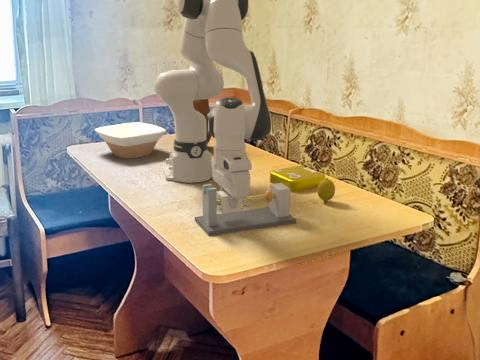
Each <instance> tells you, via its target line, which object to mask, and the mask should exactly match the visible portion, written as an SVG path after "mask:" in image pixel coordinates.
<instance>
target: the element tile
mask: <svg viewBox="0 0 480 360" xmlns="http://www.w3.org/2000/svg"><path fill="white" fill-rule="evenodd" d="M269 174H270V175H269V182H270V184H276V183H282V184H284V185H285V186H287V187H288V188H290V193H291V192H292V193H298V192H303V191H308V190H312V189H313V188H314V189H318V185H319V183H320V182H321V181H322V180H323V179H326V174H324V173H322V172H320V171H316V170H314V169H312V168H309V167H306V166H304V165H296V166H290V167H285V168H283V167H282V168H278V169H273V170H270V172H269Z"/></svg>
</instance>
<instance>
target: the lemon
mask: <svg viewBox="0 0 480 360" xmlns="http://www.w3.org/2000/svg"><path fill="white" fill-rule="evenodd" d="M316 191H317V195H318V198H320V200H322V201H323V202H324V203H328V201H330V200H332V199H333V198H334V196H335V193H336V187H335V184H334V181H333V180H331V179H329V178H328V177H325V179H323V180H322V181H321V182H320V183H319V185H318V188H317V190H316Z"/></svg>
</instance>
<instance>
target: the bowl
mask: <svg viewBox="0 0 480 360" xmlns="http://www.w3.org/2000/svg"><path fill="white" fill-rule="evenodd" d="M94 131H95V132H96V134H98V135H99V137H100V138H102V139H103V140H104V142H105V143H106V145H107V147H108V148H109V150H110V151H111V153H112V154H113V155H114V154H115V155H114V156H116V155H117V156H116V157H118V156H119V158H122V159H126V160H128V159H129V158H130V159H136V158H140V157H146V156H149V154H150V155H151V153H152V152H153V150H154V148H155V146H156V144H157V143H158V142H159V140H160V139H161V138H163V136H164V134H166V133H167V130H166V129H165V128H163V127H161V126H157V125H155V124H151V123H150V124H149V123H145V122H139V121H136V122H135V121H134V122H126V123H125V122H124V123H120V124H112V125H105V126H101V127H97V128H94ZM130 159H129V160H130Z"/></svg>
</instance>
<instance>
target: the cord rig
mask: <svg viewBox="0 0 480 360" xmlns="http://www.w3.org/2000/svg"><path fill="white" fill-rule="evenodd" d="M217 191H218V190H217V188H216V187H213V185H212V183H208V184H202V216H201V215H200V216H194V222H195V223H196V224H197V225H198V226H199V227H200V228H201V230H203V231H204V232H205V234H207V235H208V237H209V236H216V235H221V234H228V233H229V234H230V233H236V232H243V231H248V230H250V231H251V230H255V229H256V230H257V229H263V228H268V227H276V226H282V225H289V224H296V223H297V218H296V217H294V216H293V215H291V214H290V206H291V205H290V204H291V202H290V201H291V191H290V188H288V187H287V186H285V185H284V184H282V183H276V184H273V183H270V185H269V190H266V191H265V192H264V194H257V195H248V197H247V198H243V200H242V202H245V203H246V202H253V201H260V200H261V201H262V200H265V201H266V202H267V203H268V202H269V206H268V207H261V208H253V209H245V210H242V211H238V212H231V213H222V212H220V213H218V212H217V211H218V209H217V205H221V200H217Z"/></svg>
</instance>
